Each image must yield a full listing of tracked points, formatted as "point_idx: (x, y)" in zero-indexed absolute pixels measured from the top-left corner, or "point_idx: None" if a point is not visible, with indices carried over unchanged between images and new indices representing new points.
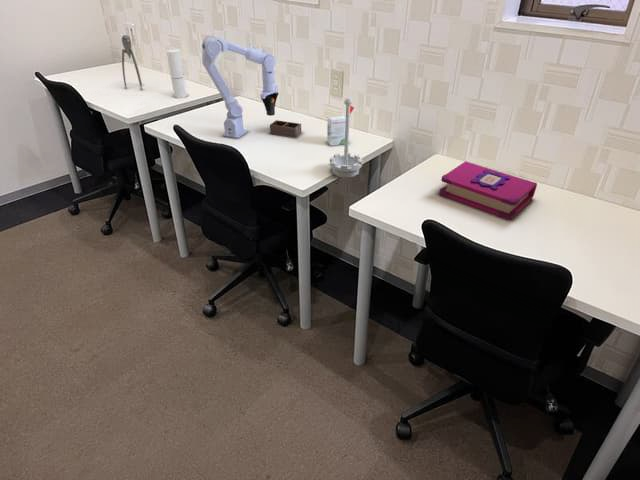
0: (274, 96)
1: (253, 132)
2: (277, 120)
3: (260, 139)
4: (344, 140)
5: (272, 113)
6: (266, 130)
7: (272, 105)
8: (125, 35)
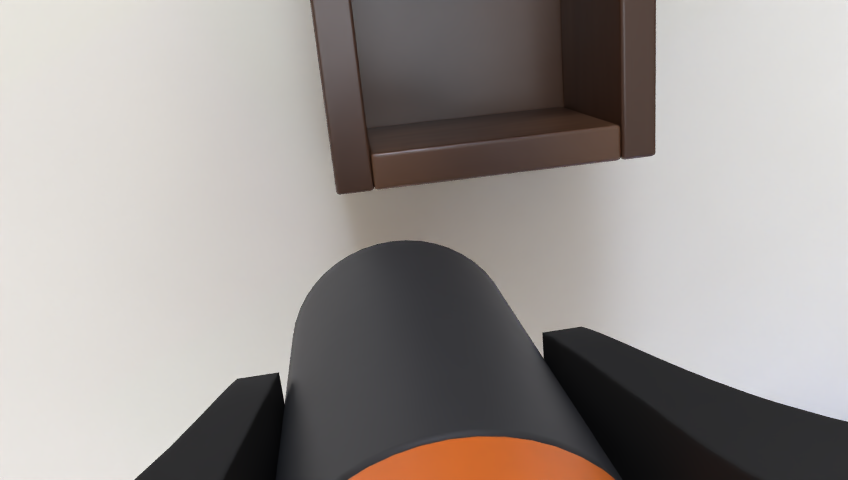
0: None
1: None
2: (340, 153)
3: (838, 137)
4: None
5: (470, 271)
6: None
7: (522, 374)
8: None
